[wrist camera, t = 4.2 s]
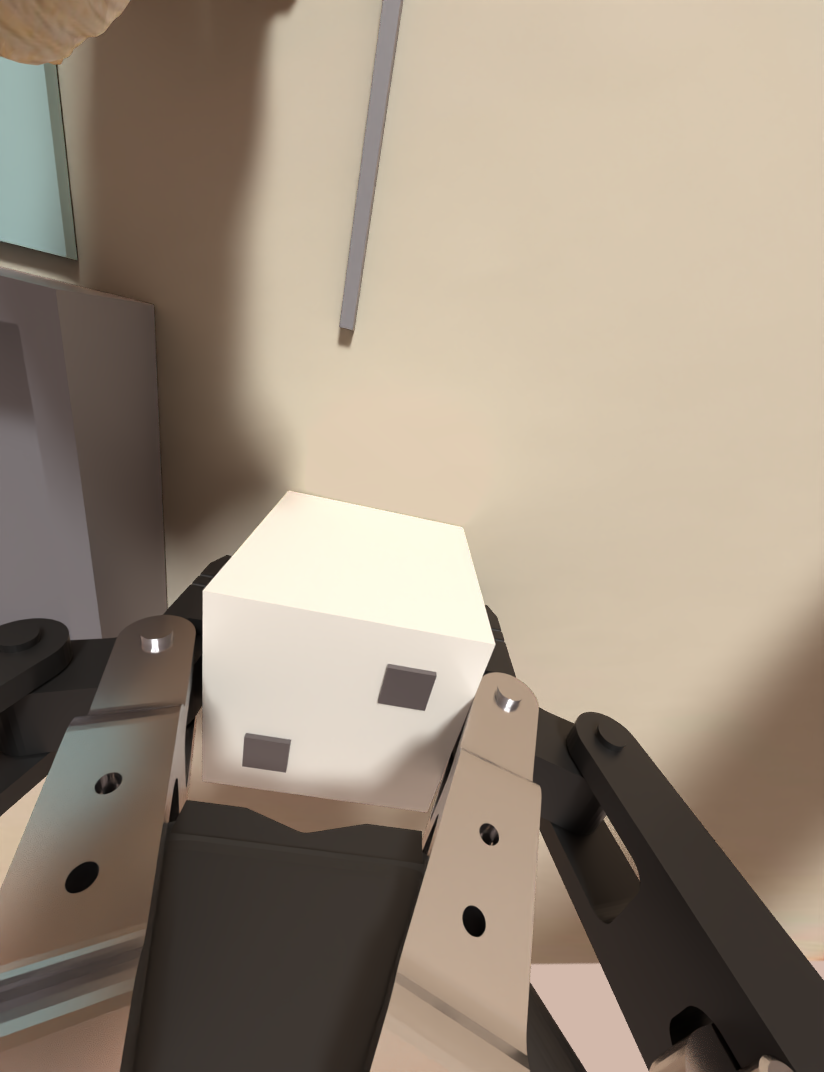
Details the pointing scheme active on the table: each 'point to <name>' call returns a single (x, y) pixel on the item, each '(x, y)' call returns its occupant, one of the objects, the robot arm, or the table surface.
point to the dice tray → (78, 458)
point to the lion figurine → (52, 27)
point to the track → (42, 177)
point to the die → (341, 654)
